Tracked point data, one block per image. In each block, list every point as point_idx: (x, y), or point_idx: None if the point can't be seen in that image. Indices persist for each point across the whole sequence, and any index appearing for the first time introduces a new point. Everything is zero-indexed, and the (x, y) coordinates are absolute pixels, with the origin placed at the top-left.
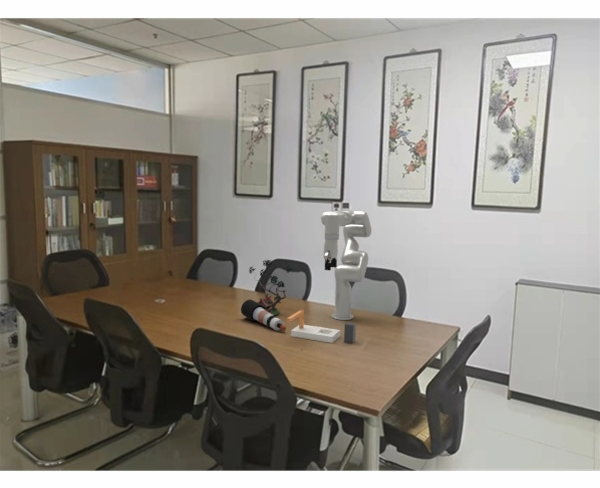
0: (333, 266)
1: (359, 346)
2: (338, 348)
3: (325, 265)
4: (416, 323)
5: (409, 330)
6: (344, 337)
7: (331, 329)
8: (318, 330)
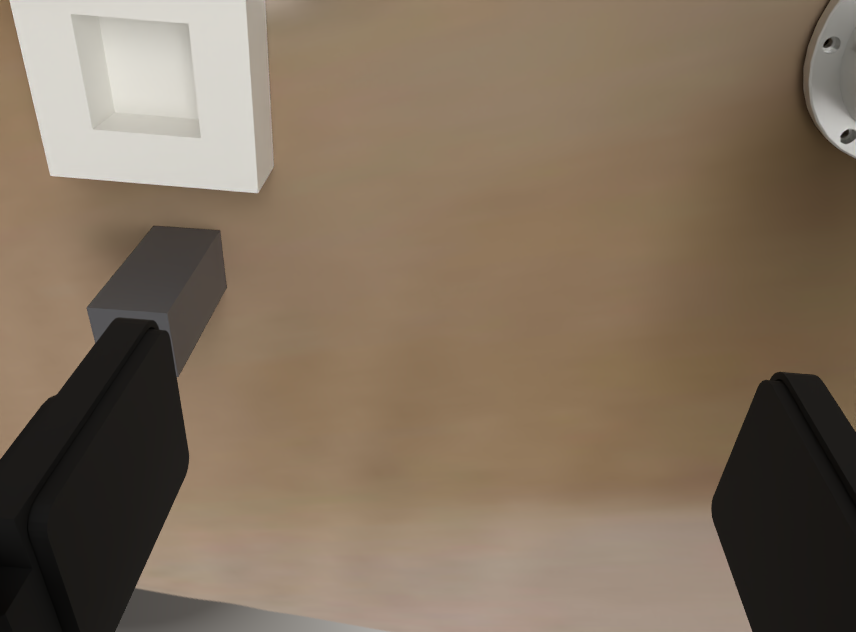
0: (738, 464)
1: None
2: (43, 210)
3: (52, 438)
4: None
5: (631, 531)
6: (135, 251)
7: (233, 119)
8: (132, 6)
